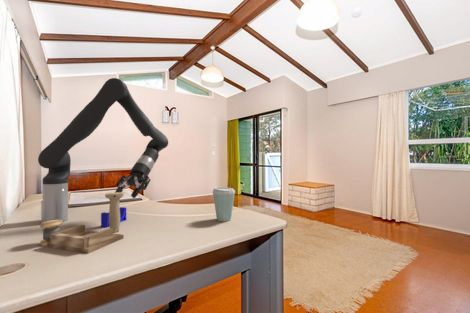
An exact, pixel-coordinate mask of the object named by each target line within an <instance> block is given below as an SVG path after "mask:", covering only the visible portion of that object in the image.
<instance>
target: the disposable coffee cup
mask: <svg viewBox="0 0 470 313" xmlns="http://www.w3.org/2000/svg"><path fill="white" fill-rule="evenodd" d="M235 194H236V190H235V189H234V188H232V187H226V186H214V187H213V189H212V196H213V201H214V202H213V203H214V209H215V215H216V216H215V217H216V220H217V221H218V222H229V221H231V219H232V216H233V209H234V202H235Z"/></svg>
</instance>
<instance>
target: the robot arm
mask: <svg viewBox="0 0 470 313" xmlns="http://www.w3.org/2000/svg"><path fill="white" fill-rule="evenodd" d="M116 102H117V103H118V104H119V105H120V106H121V107H122V108H123V110H125V112H126V113H127V115H128V116H129V118H130V120H131V122H132V123H133V125H134V126H135V127H136V129H137V130H138V131H139V132H140V134H142V136H143V137H150V138H151V139H150V140H149V142H148V143H147V145H146V147H145V150H144V151H143V153H142V154H141V156H140V157H138V159H137V161H136V162H135V163H134V165H133V166H132V168H131V169H130V172H129V175H128V176H126V175H124V174H122V175H121V177H120V178H119V180H118V181H117V182H116V184H115V186H116V187H117V188H116V190H115V191H114V193H115V192H123V191H124V190H125V189H126V188H129V187H135V188H134V189H133V191H132V192H131V194H130V196H131V197H132V198H133V199H135V198H136V197H137V196H139V193H140V192H141V191H142V190H143V191H145V190H147V187H148V186H149V184H150V182H151V178H150V177H149V175H150V173H151V171H152V170H153V168H154V165H155V163H156V162H157V161H158V159H159V156H160V154H159V153H160V152H161V151H162V150H163V149H165V148H167V147H168V146H169V140H168V138H167V136H166V135H165V134H164V133H163V132H162V131H161V130H159V129H158V128H157V127H155V125H154V124H153V123H152V121H151V120H150V119H149V117H148V116H147V115H146V114H145V113H144V111H143V110H142V109H141V108H140V106H139V105H138V104H137V102H136V101H135V99H134V98H133V96H132V93H130V91H129V88H128V86H127V84H126V83H125V82H124V81H123V80H121V78H117V77H112V78H109V79H107V80H106V81H105V82H104V83H103V85H102V87H101V88H99V90H98V92H97V93H96V94H95V97H93V99H91V101H89V102H88V103H87V104H86V105H85V106H84V108H83V109H82V110H81V111H79V112H78V113H77V115H76V116H75V117H74V118H73V119H72V120H71V122H70V123H69V124H68V125H67V126H66V127H64V129H63V130H62V131H61V132H60V134H58V136H57V137H55V139H54V140H52V142H51V143H49V144H48V145H47V146H46V147H45V148H43V149H42V150H41V151H40V153H39V155H38V158H37V161H38V165H39V166H40V167H42V168H44V169H48V172H47V174H46V175H45V176H43V177H42V200H41V203H40V204H41V207H40V208H41V209H40V210H41V213H40V214H41V216H40V217H41V223H42V222H45V221H51V220H63V222H65V221H68V219H69V190H68V189H69V178H70V176H71V156H70V153H69V151H70V150H71V149H72V148H74V147H75V146H76V145H77V144H79V143H80V142H81V141H84V140H85V139H87V138H89V136H90V135H92V133H94V132H95V130H96V129H97V128H98V127H99V125H100V124H101V123H102V121H103V120H104V118H105V116H106V114H107V112H108V111H109V109H110V108H111V107H112V106H113V105H114V104H115V103H116Z"/></svg>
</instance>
